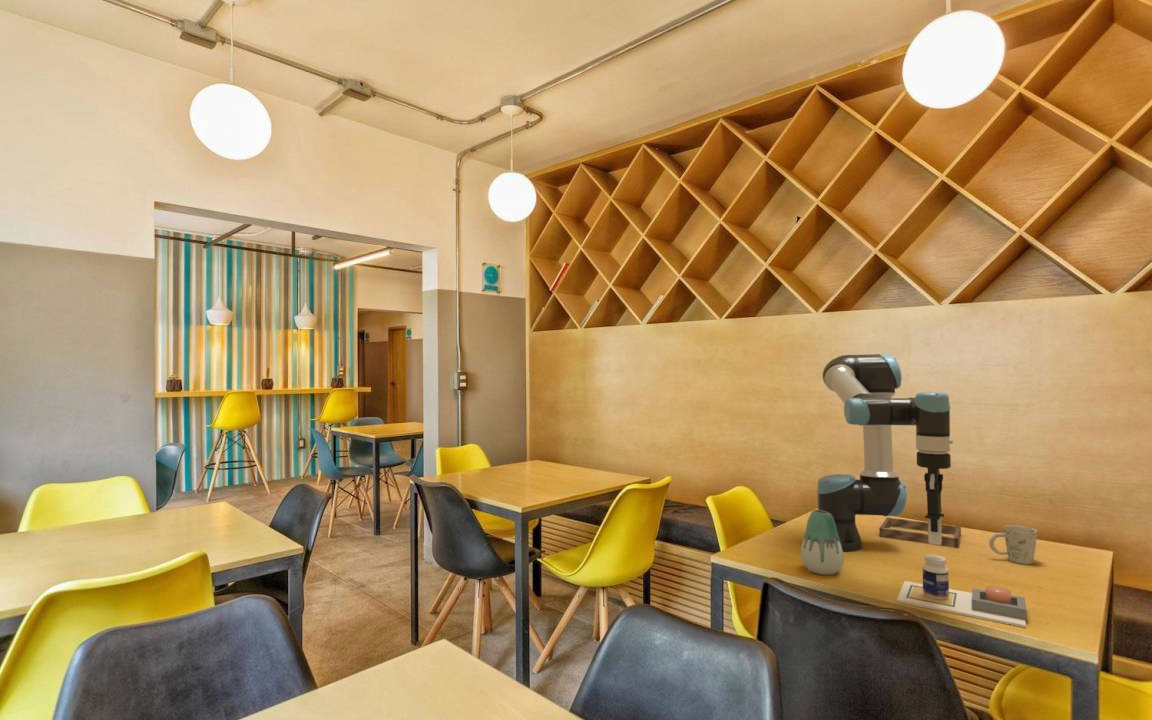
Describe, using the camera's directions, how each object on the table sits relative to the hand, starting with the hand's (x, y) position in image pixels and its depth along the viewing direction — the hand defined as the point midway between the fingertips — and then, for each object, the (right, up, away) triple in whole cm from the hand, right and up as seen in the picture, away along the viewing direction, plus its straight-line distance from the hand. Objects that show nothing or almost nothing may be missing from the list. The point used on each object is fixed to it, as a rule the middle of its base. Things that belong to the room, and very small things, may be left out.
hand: (935, 542), depth 149 cm
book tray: (+30, -15, +56) cm, 65 cm away
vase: (-20, -15, +21) cm, 33 cm away
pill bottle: (0, -14, 0) cm, 14 cm away
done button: (+11, -12, -8) cm, 18 cm away
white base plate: (+4, -14, -3) cm, 15 cm away
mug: (+42, -15, +29) cm, 53 cm away
